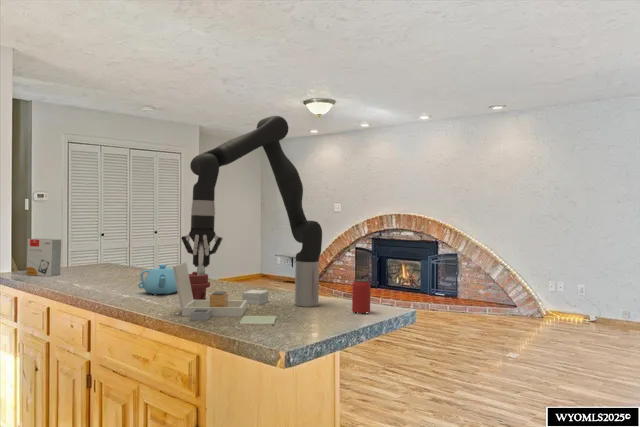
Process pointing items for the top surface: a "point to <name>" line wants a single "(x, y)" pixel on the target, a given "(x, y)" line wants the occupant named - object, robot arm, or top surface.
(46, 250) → the hard drive box
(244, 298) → the small box
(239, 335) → the top surface
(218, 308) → the case
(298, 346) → the top surface
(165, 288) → the teapot
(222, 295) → the module
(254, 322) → the pad
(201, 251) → the rod
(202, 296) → the mechanical component
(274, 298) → the top surface
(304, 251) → the robot arm
